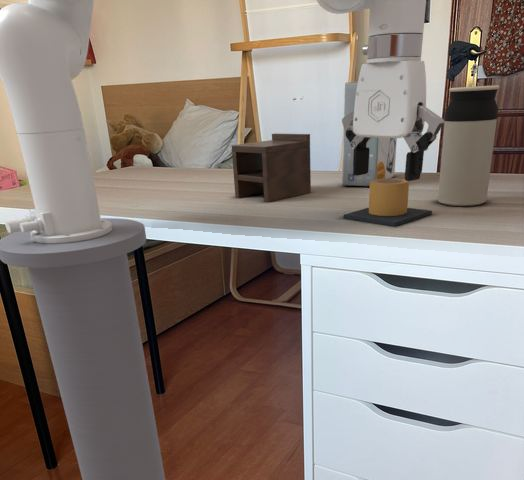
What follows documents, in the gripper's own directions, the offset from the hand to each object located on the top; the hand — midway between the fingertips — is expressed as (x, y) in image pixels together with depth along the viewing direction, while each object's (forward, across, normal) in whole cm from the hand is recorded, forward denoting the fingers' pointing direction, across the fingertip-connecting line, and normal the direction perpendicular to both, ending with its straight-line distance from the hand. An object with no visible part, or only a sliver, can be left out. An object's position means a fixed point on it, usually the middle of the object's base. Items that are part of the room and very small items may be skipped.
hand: (385, 177), depth 82 cm
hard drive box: (+6, -24, +28) cm, 37 cm away
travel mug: (+6, +4, +16) cm, 18 cm away
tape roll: (+5, 0, +1) cm, 5 cm away
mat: (+6, 0, 0) cm, 6 cm away
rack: (+6, -30, +4) cm, 32 cm away
